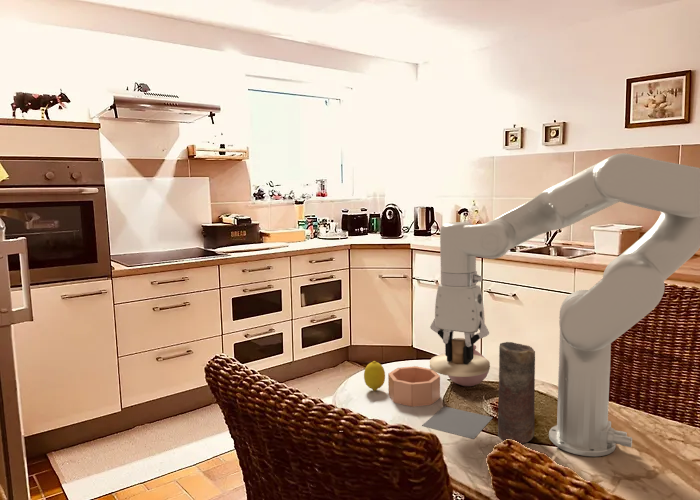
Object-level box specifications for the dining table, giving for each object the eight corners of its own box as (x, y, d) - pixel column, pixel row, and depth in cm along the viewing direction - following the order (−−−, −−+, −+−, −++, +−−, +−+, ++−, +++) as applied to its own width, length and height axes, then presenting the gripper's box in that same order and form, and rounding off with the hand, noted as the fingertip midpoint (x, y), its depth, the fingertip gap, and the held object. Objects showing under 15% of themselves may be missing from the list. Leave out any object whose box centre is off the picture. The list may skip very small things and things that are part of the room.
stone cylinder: (504, 426, 117) (506, 338, 115) (538, 435, 113) (540, 343, 111) (492, 440, 111) (493, 347, 109) (527, 449, 107) (529, 353, 105)
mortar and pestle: (481, 396, 134) (481, 352, 133) (436, 388, 140) (436, 346, 139) (495, 381, 144) (495, 340, 143) (453, 373, 150) (453, 334, 149)
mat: (492, 419, 121) (492, 417, 121) (473, 441, 111) (473, 438, 111) (443, 408, 128) (443, 406, 128) (421, 427, 118) (421, 425, 118)
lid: (497, 362, 119) (497, 336, 119) (477, 380, 109) (477, 352, 108) (444, 354, 127) (443, 329, 126) (419, 370, 116) (419, 343, 115)
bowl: (445, 394, 136) (445, 371, 135) (425, 411, 126) (425, 387, 125) (404, 385, 143) (403, 363, 142) (381, 401, 133) (381, 377, 132)
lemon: (385, 386, 142) (385, 357, 141) (384, 394, 137) (384, 364, 136) (365, 386, 143) (364, 357, 142) (363, 394, 137) (362, 364, 136)
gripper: (501, 279, 114) (501, 361, 116) (431, 274, 123) (432, 351, 125) (489, 285, 108) (489, 372, 110) (416, 279, 117) (418, 360, 119)
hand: (459, 360), depth 118 cm, fingers closed on lid, 3 cm apart
